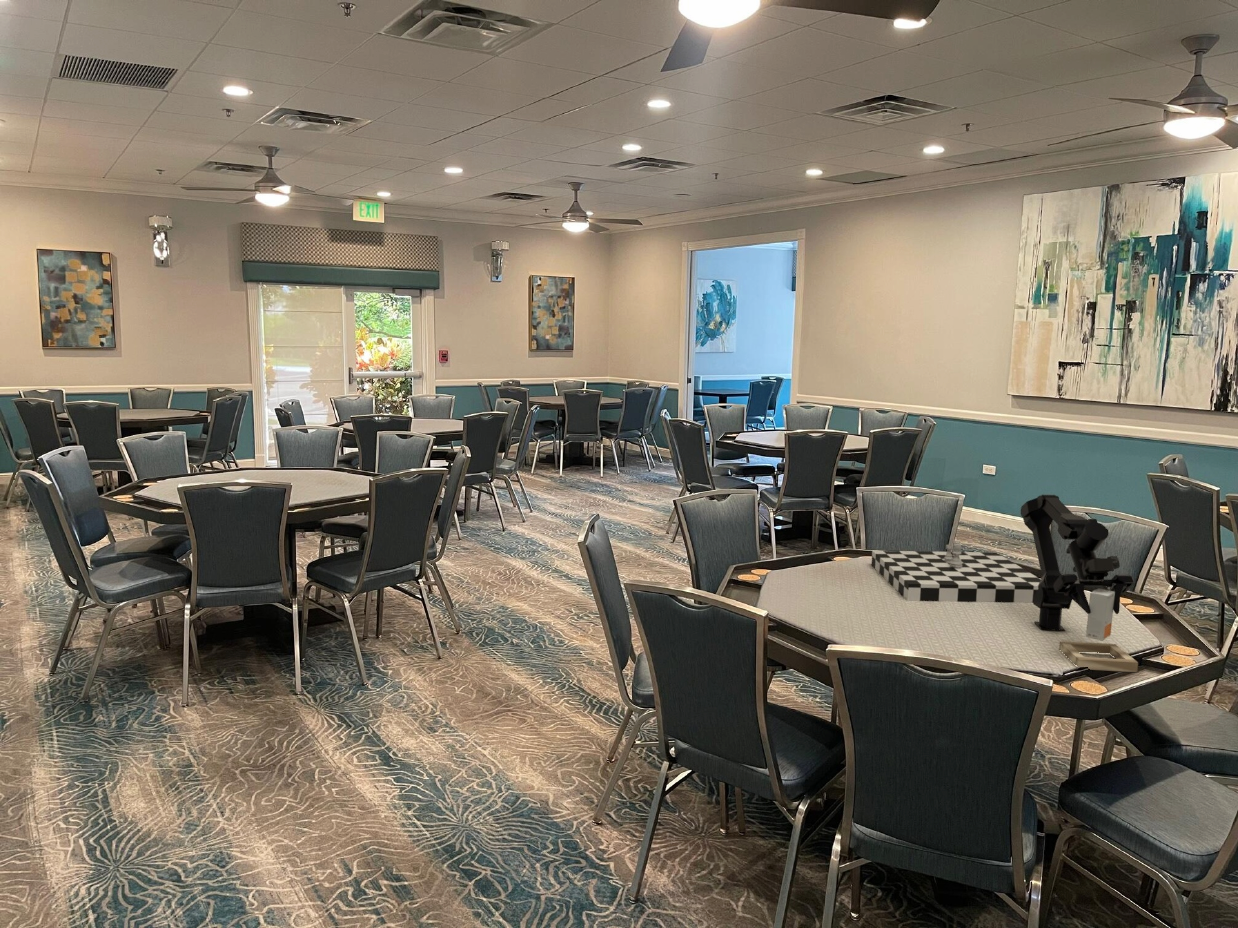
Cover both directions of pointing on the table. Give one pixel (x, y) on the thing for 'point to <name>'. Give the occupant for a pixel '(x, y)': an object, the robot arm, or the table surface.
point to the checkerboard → (955, 576)
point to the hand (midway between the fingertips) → (1103, 613)
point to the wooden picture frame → (1118, 664)
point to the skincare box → (1100, 614)
